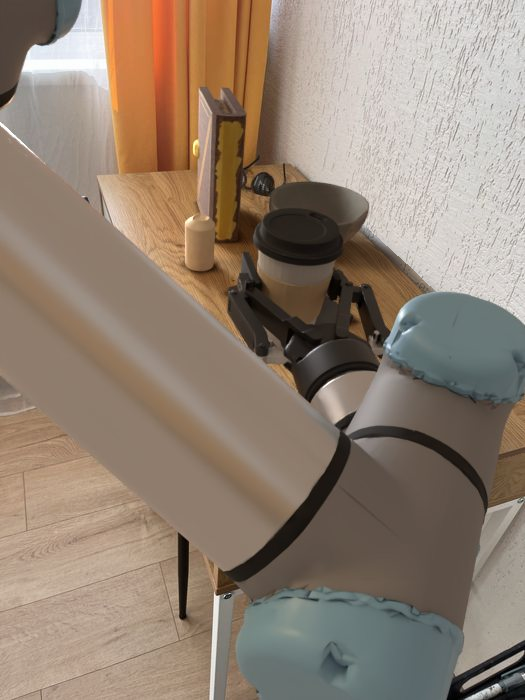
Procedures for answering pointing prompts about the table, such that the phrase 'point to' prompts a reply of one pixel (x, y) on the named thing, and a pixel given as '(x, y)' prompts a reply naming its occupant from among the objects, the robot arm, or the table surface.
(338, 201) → the bowl
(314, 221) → the coffee cup
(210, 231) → the candle
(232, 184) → the book
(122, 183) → the table surface
